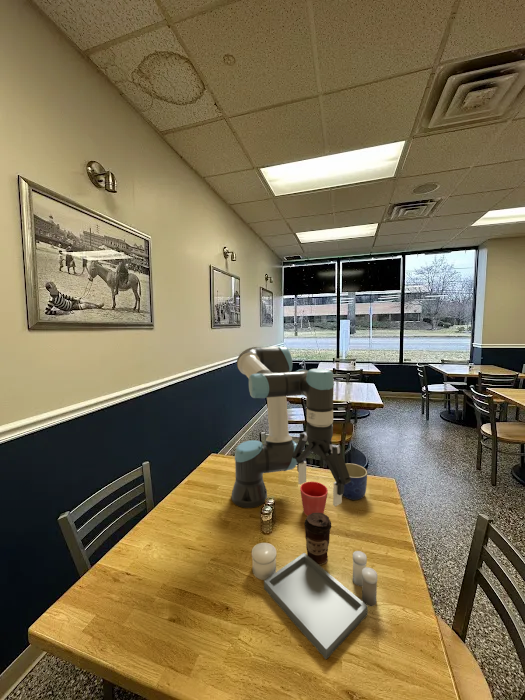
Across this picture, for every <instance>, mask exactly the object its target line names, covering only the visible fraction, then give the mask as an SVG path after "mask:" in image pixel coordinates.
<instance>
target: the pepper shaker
mask: <svg viewBox="0 0 525 700" xmlns="http://www.w3.org/2000/svg"><path fill="white" fill-rule="evenodd" d="M377 584H378V573H377V571H376V570H375V569H374V568H372V567H369V566H366V568H364V569H363V570H362V586H361V591H362V593H361V601H363V602H364V603H365V604H366V605H367V606H368V607H374V606H376V605H377V592H378V591H377V589H378V588H377V587H378V585H377Z"/></svg>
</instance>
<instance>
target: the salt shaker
mask: <svg viewBox="0 0 525 700" xmlns="http://www.w3.org/2000/svg"><path fill="white" fill-rule="evenodd" d="M367 562H368V558H367V555H366V553H365V552H363V551H361V550H355V551H354V552H353V553H352V582H353V583H354V585H356V586H358V587H362V570H363V569H364V568H366V567H367Z"/></svg>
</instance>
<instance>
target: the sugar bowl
mask: <svg viewBox="0 0 525 700" xmlns="http://www.w3.org/2000/svg"><path fill="white" fill-rule="evenodd" d="M251 558H252V574H253V576H254V577H255V578H257V579H258V580H262V581H264V580H266V579H267V578H268V577H270V576H271V575H273V574H274V573H276V572H277V568H276V567H277V549H276V547H275V546H274V545H273V544H271V543H269V542H259V543H257V544H255V545H254V546H253V547H252V550H251Z"/></svg>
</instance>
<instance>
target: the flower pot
mask: <svg viewBox="0 0 525 700" xmlns="http://www.w3.org/2000/svg"><path fill="white" fill-rule="evenodd" d="M299 490H300V496H301V504H302V509H303V513H304V515H305V516H306V517H307V516H308V515H310V514H312V513H317V512H319V513H323V514H325V508H326V504H327V498H328V492H329V489H328V488H327V486H325V485H324V484H323V483H320V482H318V481H306V482H305V483H303V484H301V485H300V489H299Z"/></svg>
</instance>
